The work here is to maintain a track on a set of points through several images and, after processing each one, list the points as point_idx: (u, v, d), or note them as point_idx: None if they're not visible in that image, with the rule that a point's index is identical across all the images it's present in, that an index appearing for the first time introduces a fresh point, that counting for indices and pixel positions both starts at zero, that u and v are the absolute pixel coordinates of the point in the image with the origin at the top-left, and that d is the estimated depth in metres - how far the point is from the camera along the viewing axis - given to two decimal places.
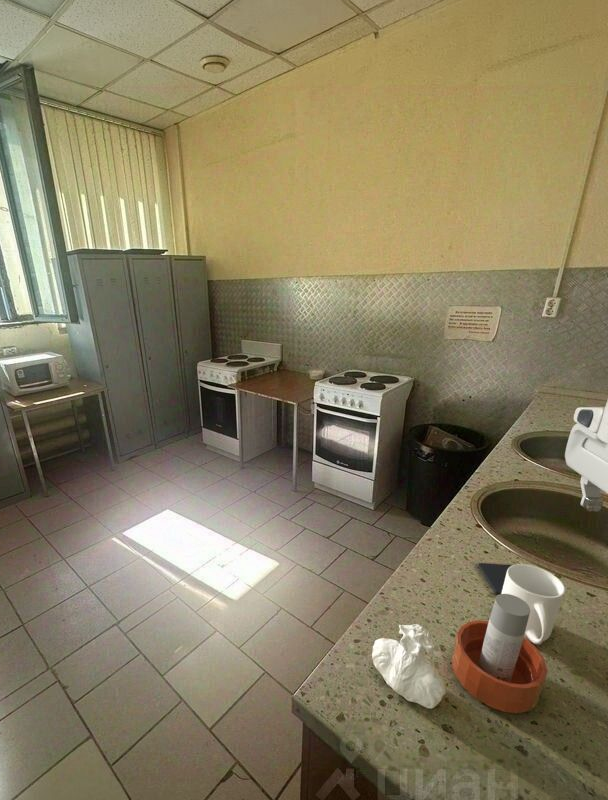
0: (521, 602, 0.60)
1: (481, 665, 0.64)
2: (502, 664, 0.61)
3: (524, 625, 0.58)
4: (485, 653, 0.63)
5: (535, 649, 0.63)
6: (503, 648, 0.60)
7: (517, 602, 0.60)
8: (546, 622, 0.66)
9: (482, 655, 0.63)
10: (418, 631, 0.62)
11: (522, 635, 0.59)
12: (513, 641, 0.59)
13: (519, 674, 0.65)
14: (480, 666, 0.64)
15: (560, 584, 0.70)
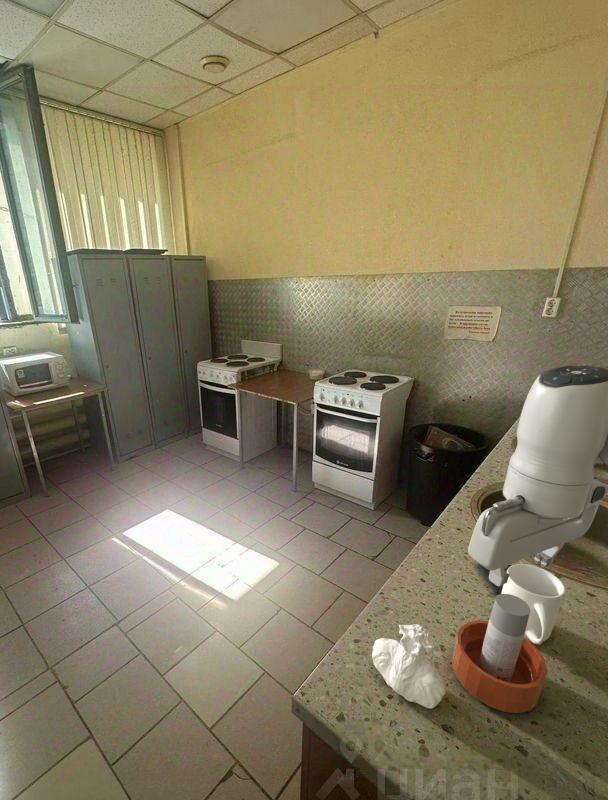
0: (521, 602, 0.60)
1: (481, 665, 0.64)
2: (502, 664, 0.61)
3: (524, 625, 0.58)
4: (485, 653, 0.63)
5: (535, 649, 0.63)
6: (503, 648, 0.60)
7: (517, 602, 0.60)
8: (546, 622, 0.66)
9: (482, 655, 0.63)
10: (418, 631, 0.62)
11: (522, 635, 0.59)
12: (513, 641, 0.59)
13: (519, 674, 0.65)
14: (480, 666, 0.64)
15: (560, 584, 0.70)
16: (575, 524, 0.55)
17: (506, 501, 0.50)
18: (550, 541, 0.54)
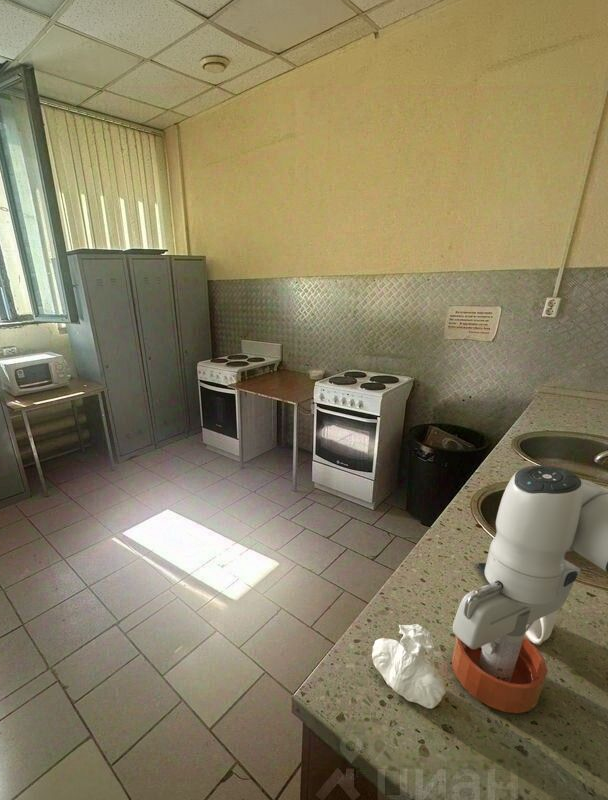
0: None
1: (481, 665, 0.64)
2: (502, 664, 0.61)
3: (524, 625, 0.58)
4: (485, 653, 0.63)
5: (535, 649, 0.63)
6: (503, 648, 0.60)
7: None
8: (546, 622, 0.66)
9: (482, 655, 0.63)
10: (418, 631, 0.62)
11: (522, 635, 0.59)
12: (513, 641, 0.59)
13: (519, 674, 0.65)
14: (480, 666, 0.64)
15: None
16: (551, 601, 0.60)
17: (486, 588, 0.55)
18: (528, 618, 0.59)
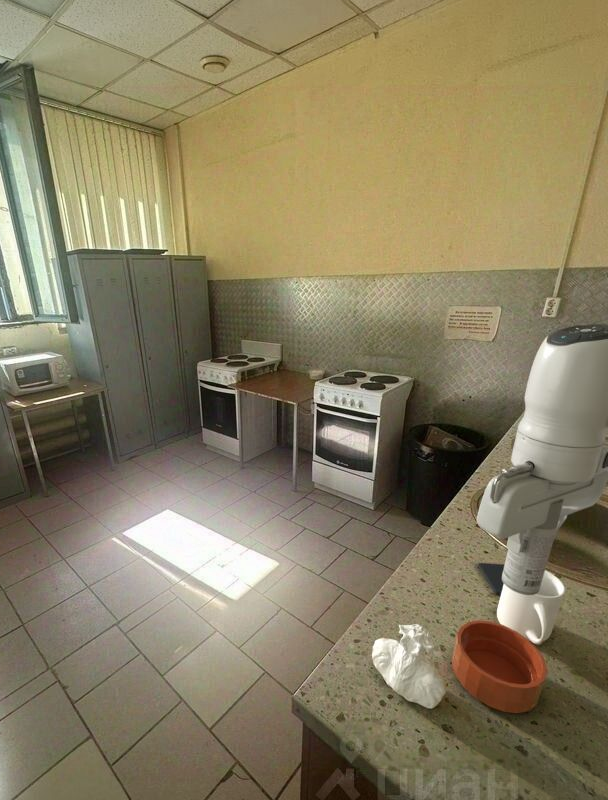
0: None
1: (506, 571, 0.58)
2: (531, 565, 0.54)
3: (557, 516, 0.52)
4: (511, 556, 0.56)
5: (535, 649, 0.63)
6: (532, 545, 0.53)
7: None
8: (546, 622, 0.66)
9: (508, 559, 0.57)
10: (418, 631, 0.62)
11: (554, 528, 0.52)
12: (545, 535, 0.53)
13: (519, 674, 0.65)
14: (505, 573, 0.58)
15: (560, 584, 0.70)
16: (586, 492, 0.54)
17: (515, 467, 0.48)
18: (561, 509, 0.52)
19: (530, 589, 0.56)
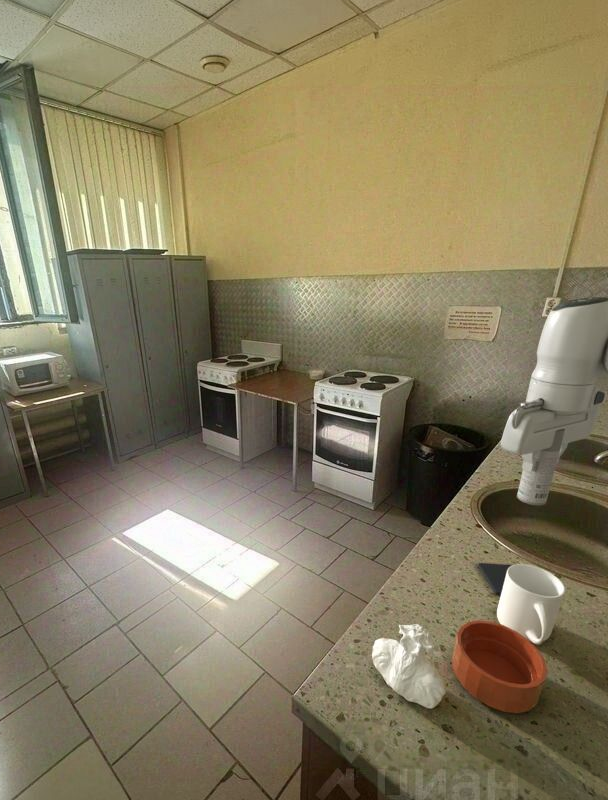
0: None
1: (521, 489, 0.76)
2: (540, 481, 0.72)
3: (560, 441, 0.70)
4: (525, 476, 0.74)
5: (535, 649, 0.63)
6: (541, 464, 0.71)
7: None
8: (546, 622, 0.66)
9: (522, 479, 0.75)
10: (418, 631, 0.62)
11: (558, 451, 0.70)
12: (551, 456, 0.71)
13: (519, 674, 0.65)
14: (520, 491, 0.76)
15: (560, 584, 0.70)
16: (582, 426, 0.72)
17: (530, 401, 0.67)
18: (563, 437, 0.70)
19: (539, 500, 0.74)
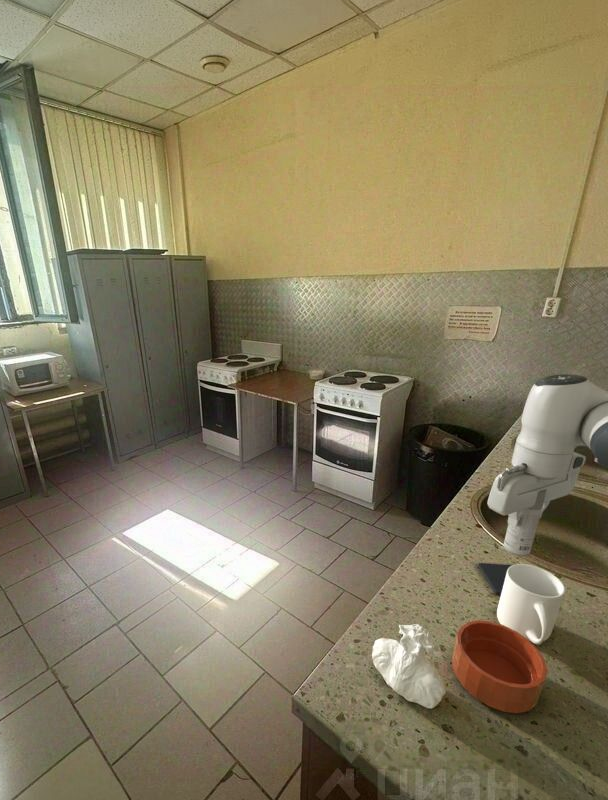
0: None
1: (507, 540, 0.82)
2: (524, 535, 0.79)
3: (542, 500, 0.76)
4: (510, 529, 0.80)
5: (535, 649, 0.63)
6: (525, 521, 0.78)
7: None
8: (546, 622, 0.66)
9: (508, 532, 0.81)
10: (418, 631, 0.62)
11: (540, 509, 0.77)
12: (533, 514, 0.77)
13: (519, 674, 0.65)
14: (506, 542, 0.82)
15: (560, 584, 0.70)
16: (563, 485, 0.78)
17: (514, 467, 0.73)
18: (545, 496, 0.77)
19: (523, 552, 0.80)
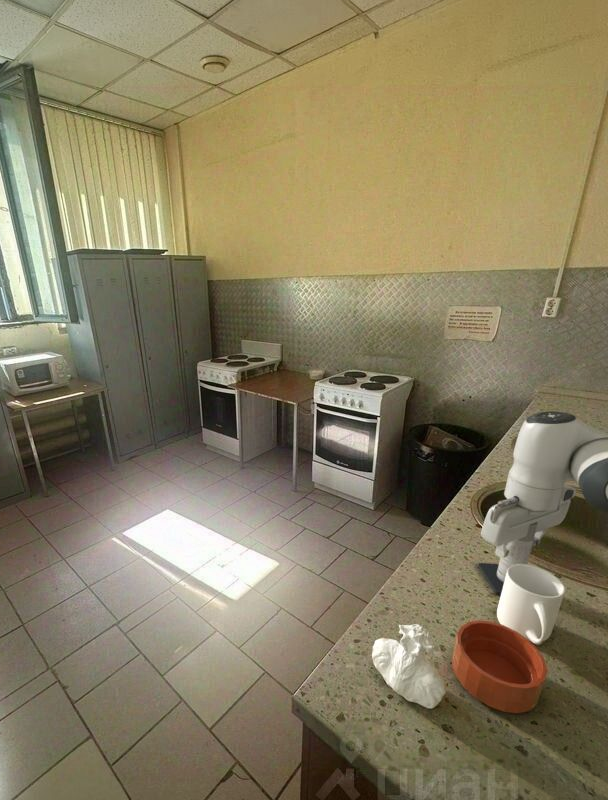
0: None
1: (500, 569, 0.84)
2: None
3: (533, 532, 0.78)
4: (503, 559, 0.83)
5: (535, 649, 0.63)
6: (517, 552, 0.80)
7: None
8: (546, 622, 0.66)
9: (501, 561, 0.84)
10: (418, 631, 0.62)
11: (531, 541, 0.79)
12: (525, 545, 0.79)
13: (519, 674, 0.65)
14: (499, 570, 0.85)
15: (560, 584, 0.70)
16: (554, 516, 0.80)
17: (506, 500, 0.75)
18: (537, 527, 0.79)
19: None
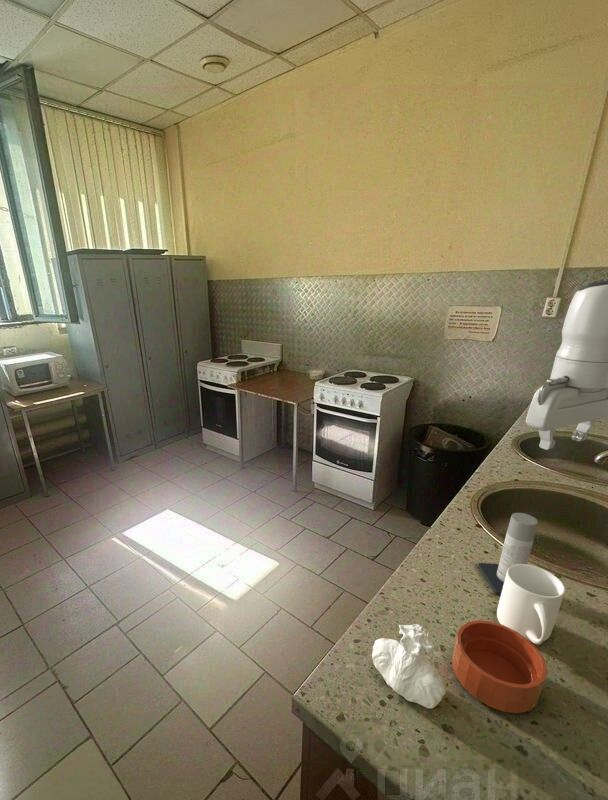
0: (531, 517, 0.80)
1: (500, 569, 0.84)
2: None
3: (533, 532, 0.78)
4: (503, 559, 0.83)
5: (535, 649, 0.63)
6: (517, 552, 0.80)
7: (527, 517, 0.80)
8: (546, 622, 0.66)
9: (501, 561, 0.84)
10: (418, 631, 0.62)
11: (531, 541, 0.79)
12: (525, 545, 0.79)
13: (519, 674, 0.65)
14: (499, 570, 0.85)
15: (560, 584, 0.70)
16: (604, 404, 0.74)
17: (556, 378, 0.69)
18: (586, 414, 0.73)
19: None
